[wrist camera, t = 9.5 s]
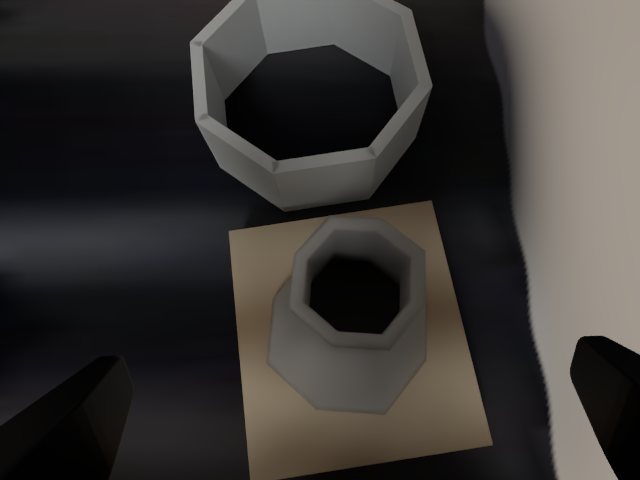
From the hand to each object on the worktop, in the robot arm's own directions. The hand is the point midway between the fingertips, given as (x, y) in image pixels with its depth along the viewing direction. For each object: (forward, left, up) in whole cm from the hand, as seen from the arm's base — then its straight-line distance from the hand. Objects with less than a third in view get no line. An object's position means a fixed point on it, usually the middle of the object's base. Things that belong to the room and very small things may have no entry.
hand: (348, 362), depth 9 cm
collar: (+14, -1, -13) cm, 19 cm away
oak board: (+2, -1, -13) cm, 13 cm away
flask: (+2, -1, -11) cm, 11 cm away
